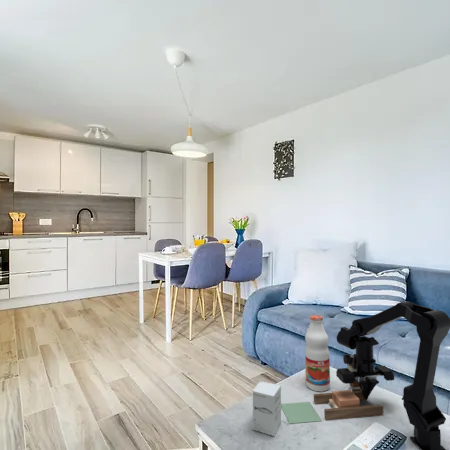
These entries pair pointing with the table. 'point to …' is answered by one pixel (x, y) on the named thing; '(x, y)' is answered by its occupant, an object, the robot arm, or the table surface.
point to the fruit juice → (317, 356)
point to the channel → (348, 408)
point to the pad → (300, 412)
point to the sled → (344, 399)
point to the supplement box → (267, 408)
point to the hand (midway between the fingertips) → (365, 398)
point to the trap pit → (364, 403)
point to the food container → (354, 385)
